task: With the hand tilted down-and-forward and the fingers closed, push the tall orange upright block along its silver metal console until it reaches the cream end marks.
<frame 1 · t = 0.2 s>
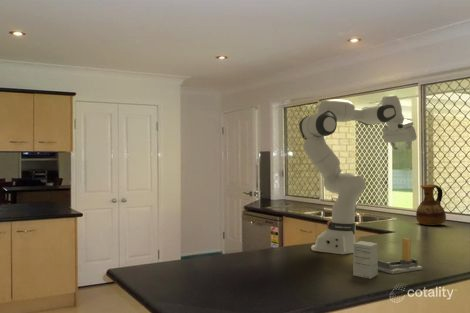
hand: (402, 149, 229), 52 cm above the counter, tool tilted 20°, fingers open, 8 cm apart
ceramic pitcher: (430, 225, 316), on the counter
console: (397, 268, 179), on the counter
orange upright block: (406, 251, 182), point 7 cm above the counter, slide at 0.0 cm
supplement box: (365, 275, 168), on the counter
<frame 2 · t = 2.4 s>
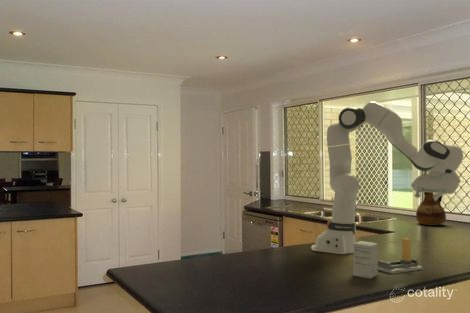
hand: (425, 197, 187), 29 cm above the counter, tool tilted 45°, fingers open, 8 cm apart
nothing on the counter moved.
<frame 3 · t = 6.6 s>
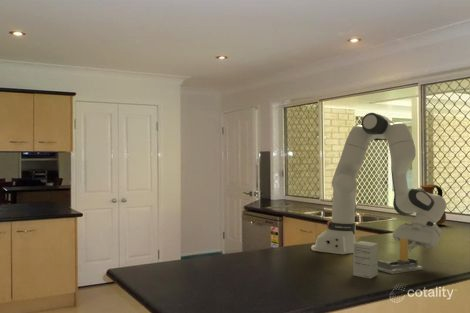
hand: (406, 250, 182), 7 cm above the counter, tool tilted 45°, fingers closed, pressing on orange upright block
orange upright block: (403, 252, 181), point 7 cm above the counter, slide at 1.5 cm, touching gripper
everything else where it was.
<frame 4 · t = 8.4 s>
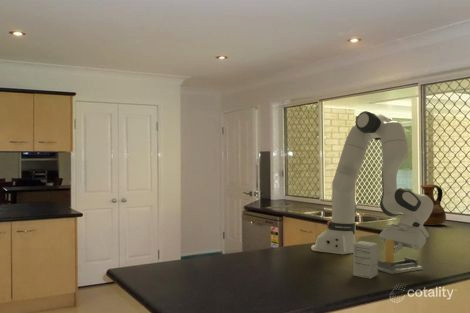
hand: (391, 251, 178), 7 cm above the counter, tool tilted 45°, fingers closed, pressing on orange upright block
orange upright block: (389, 253, 177), point 7 cm above the counter, slide at 10.1 cm, touching gripper
everything else where it was.
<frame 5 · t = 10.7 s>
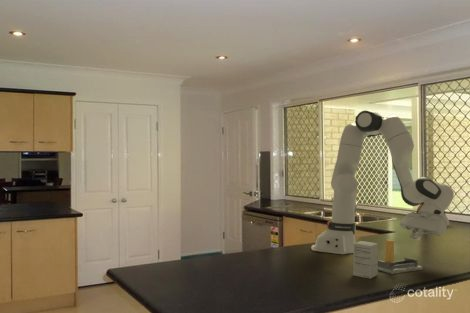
hand: (413, 237, 184), 12 cm above the counter, tool tilted 45°, fingers closed
orange upright block: (389, 253, 177), point 7 cm above the counter, slide at 10.0 cm
everything else where it was.
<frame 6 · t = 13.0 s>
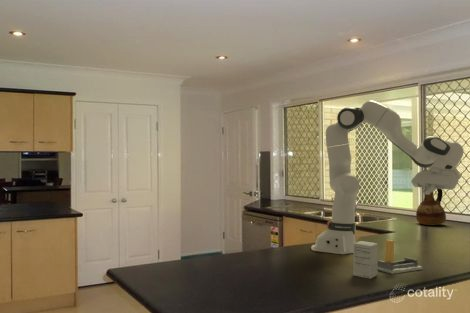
hand: (425, 193, 187), 31 cm above the counter, tool tilted 45°, fingers closed
nothing on the counter moved.
at the end: orange upright block slide at 10.0 cm; orange upright block moved 10.0 cm from its start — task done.
